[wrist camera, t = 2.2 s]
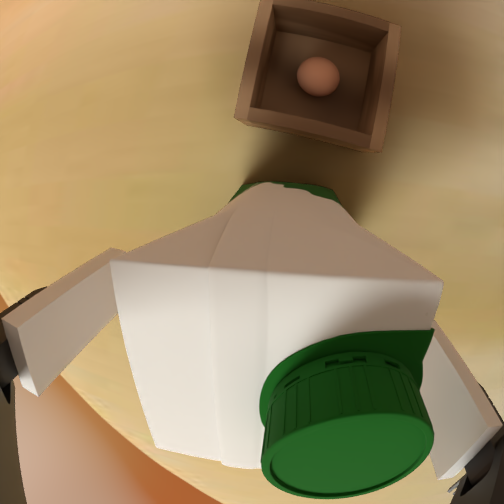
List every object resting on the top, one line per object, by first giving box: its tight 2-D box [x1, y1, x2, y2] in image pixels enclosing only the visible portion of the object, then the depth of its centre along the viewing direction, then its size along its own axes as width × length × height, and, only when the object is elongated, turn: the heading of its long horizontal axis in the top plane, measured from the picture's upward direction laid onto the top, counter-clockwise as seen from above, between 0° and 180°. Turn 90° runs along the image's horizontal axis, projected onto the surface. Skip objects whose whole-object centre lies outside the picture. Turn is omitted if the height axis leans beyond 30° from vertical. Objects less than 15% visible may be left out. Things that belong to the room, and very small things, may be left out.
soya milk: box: [110, 181, 444, 499], centre depth 15 cm, size 9×9×20 cm
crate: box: [234, 0, 401, 152], centre depth 17 cm, size 9×9×6 cm
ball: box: [297, 57, 340, 97], centre depth 18 cm, size 3×3×3 cm
